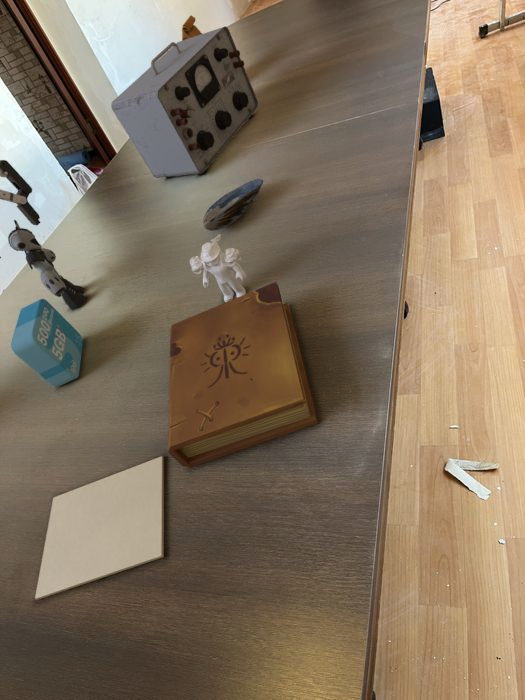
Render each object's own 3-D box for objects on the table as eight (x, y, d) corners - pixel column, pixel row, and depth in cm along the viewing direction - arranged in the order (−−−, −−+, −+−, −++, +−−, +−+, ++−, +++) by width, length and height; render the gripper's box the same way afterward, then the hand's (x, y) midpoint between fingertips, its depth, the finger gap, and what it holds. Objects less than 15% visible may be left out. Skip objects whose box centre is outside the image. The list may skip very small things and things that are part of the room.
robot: (61, 286, 115) (-3, 217, 101) (79, 274, 115) (17, 204, 102) (74, 327, 100) (1, 253, 87) (94, 313, 101) (24, 237, 87)
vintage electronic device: (209, 179, 120) (154, 77, 103) (158, 184, 131) (101, 92, 114) (267, 108, 135) (227, 8, 118) (217, 118, 145) (174, 27, 128)
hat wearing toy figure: (260, 282, 85) (230, 227, 77) (256, 298, 83) (225, 243, 74) (214, 292, 89) (181, 240, 80) (210, 308, 86) (175, 256, 78)
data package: (78, 381, 88) (31, 338, 80) (57, 391, 88) (8, 349, 80) (84, 337, 96) (41, 294, 88) (64, 346, 97) (21, 305, 89)
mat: (37, 600, 61) (34, 599, 61) (55, 498, 71) (53, 497, 71) (163, 557, 58) (161, 555, 58) (164, 457, 68) (162, 455, 68)
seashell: (262, 230, 96) (252, 209, 92) (206, 245, 100) (194, 226, 97) (272, 187, 105) (263, 166, 102) (220, 202, 110) (210, 183, 107)
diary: (185, 349, 81) (167, 326, 78) (289, 307, 78) (276, 281, 74) (186, 469, 65) (163, 448, 61) (318, 423, 61) (302, 397, 58)
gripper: (-36, 123, 74) (39, 211, 85) (-116, 181, 68) (-26, 267, 79) (-17, 119, 69) (60, 214, 80) (-102, 182, 63) (-8, 274, 74)
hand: (17, 241), depth 79 cm, fingers open, 8 cm apart
